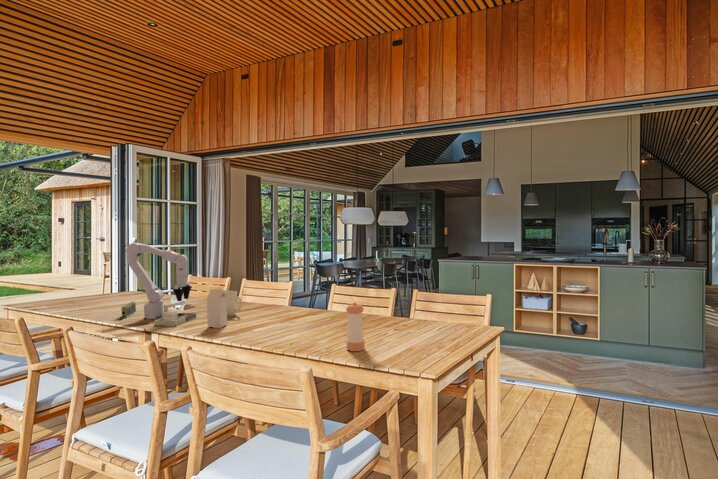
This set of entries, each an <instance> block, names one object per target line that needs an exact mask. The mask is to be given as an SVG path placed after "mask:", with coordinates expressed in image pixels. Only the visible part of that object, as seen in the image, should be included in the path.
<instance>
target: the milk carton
mask: <svg viewBox="0 0 718 479" xmlns="http://www.w3.org/2000/svg"><path fill="white" fill-rule="evenodd" d="M223 290H224V289H223V288H222V289H220V288H219V289H218V288H217V289H216V288H211V289H209V293H208V294H207V297H206V310H207V311H206V314H207V316H206V317H207V328H209V327H213V328H214V329H215V328H216V329H221V328H222V327H225V326H227V325H228V316H227V300H226V295H225V294H224V292H223Z"/></svg>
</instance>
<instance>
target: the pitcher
mask: <svg viewBox="0 0 718 479" xmlns="http://www.w3.org/2000/svg"><path fill="white" fill-rule="evenodd" d="M223 292H224V294H225V295H226V300H227V317H232V316H235V315H236V314H237V312H240V310H242V307H243V301H242V298H241V297H240V296H238V291H237V290H236V291H235V290H225V289H223Z"/></svg>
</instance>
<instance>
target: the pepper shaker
mask: <svg viewBox="0 0 718 479" xmlns="http://www.w3.org/2000/svg"><path fill="white" fill-rule="evenodd" d="M345 310H346V311H345V312H346V313H347V316H348V317H347V320H348V321H347V331H346V337H347V338H346V351H347V350H350V351H360V352H362V351H361V350H363V351H365V349H366V348H365V344H366V343H365V340H364V328H363V318H362V317H363V316H362V315H363V314H362V313H363V312H364V307H363V305H361V304H359V303H357V302H353V303H352V304H349V305H347V307H346V309H345ZM350 351H349V352H350Z"/></svg>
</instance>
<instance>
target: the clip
mask: <svg viewBox="0 0 718 479" xmlns="http://www.w3.org/2000/svg"><path fill="white" fill-rule="evenodd" d="M185 304H186V301H183V300H182V301H177V302H175V303H170V304H163V312H166V311H169V310H168V308H172V307H177V306H180V305H185Z"/></svg>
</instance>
